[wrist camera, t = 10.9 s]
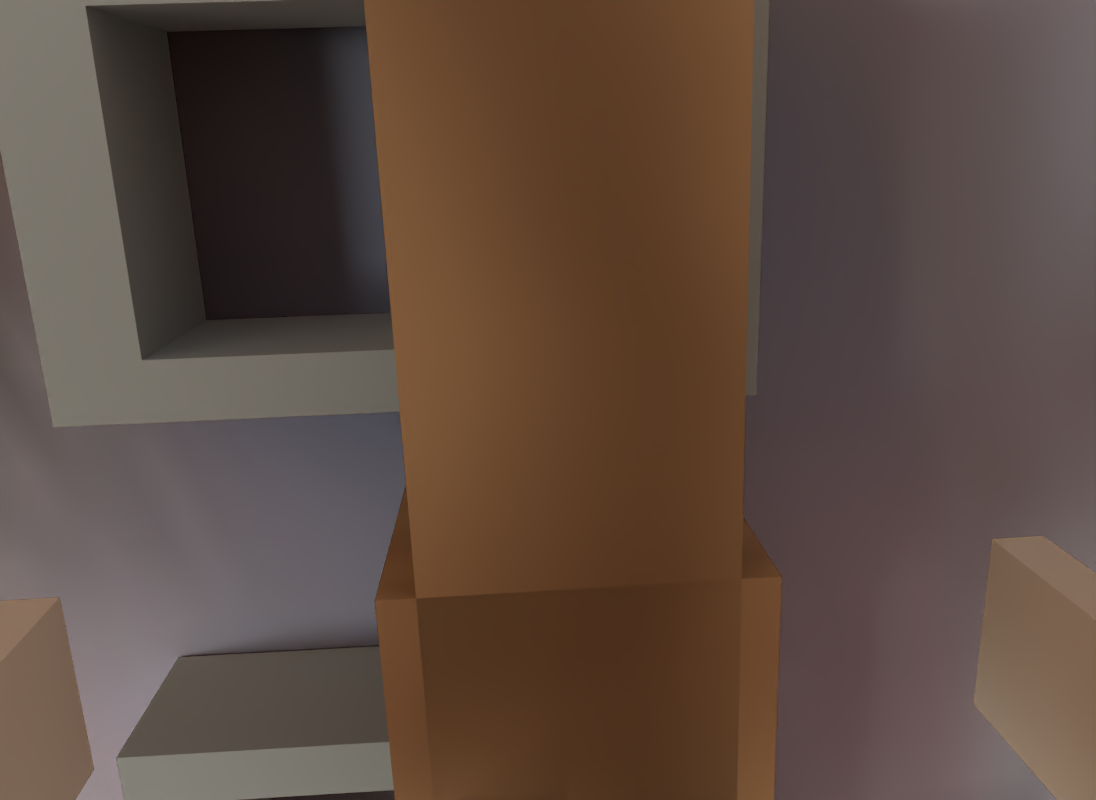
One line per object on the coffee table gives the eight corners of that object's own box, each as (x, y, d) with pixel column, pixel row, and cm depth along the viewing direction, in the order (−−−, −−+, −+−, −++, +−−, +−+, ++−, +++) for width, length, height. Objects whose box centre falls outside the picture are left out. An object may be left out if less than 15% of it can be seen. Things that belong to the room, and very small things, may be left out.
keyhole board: (222, 928, 21) (174, 1066, 18) (66, -30, 15) (-43, -73, 12) (702, 896, 21) (736, 1024, 18) (719, -47, 16) (772, -92, 13)
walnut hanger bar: (459, 894, 21) (440, 1252, 14) (386, -4, 16) (303, -112, 9) (676, 879, 21) (759, 1225, 14) (676, -14, 16) (806, -126, 9)
